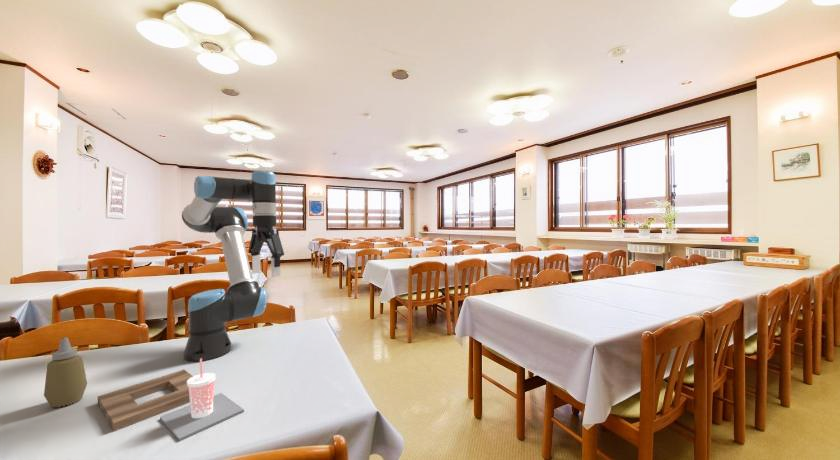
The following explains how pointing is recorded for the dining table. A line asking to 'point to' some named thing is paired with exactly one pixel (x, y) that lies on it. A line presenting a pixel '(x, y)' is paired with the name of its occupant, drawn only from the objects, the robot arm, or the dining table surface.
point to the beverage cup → (201, 393)
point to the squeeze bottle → (65, 376)
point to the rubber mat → (188, 426)
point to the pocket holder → (128, 412)
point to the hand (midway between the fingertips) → (265, 274)
